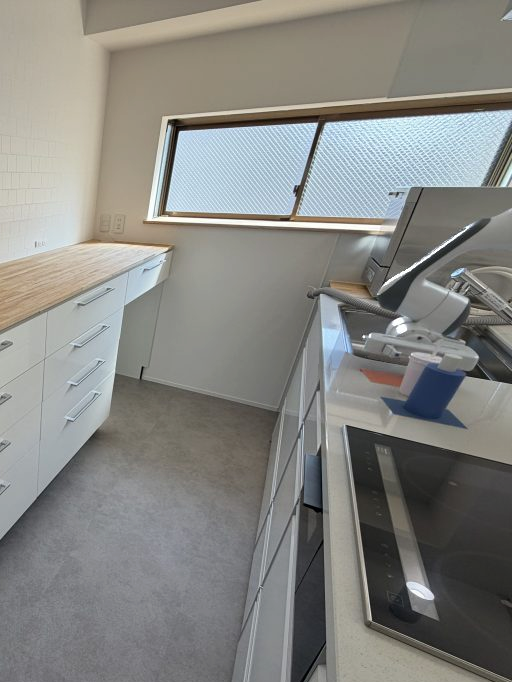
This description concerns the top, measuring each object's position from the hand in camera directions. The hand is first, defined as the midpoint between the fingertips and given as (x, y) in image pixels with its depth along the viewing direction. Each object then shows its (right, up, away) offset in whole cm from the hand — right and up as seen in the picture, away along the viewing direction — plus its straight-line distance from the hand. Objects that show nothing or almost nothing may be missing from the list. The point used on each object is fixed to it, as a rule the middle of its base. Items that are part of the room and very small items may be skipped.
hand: (422, 360), depth 96 cm
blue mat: (-8, -12, -7) cm, 16 cm away
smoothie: (-3, -8, 0) cm, 9 cm away
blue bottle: (-8, -11, -8) cm, 16 cm away
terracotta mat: (+1, -5, +7) cm, 9 cm away
